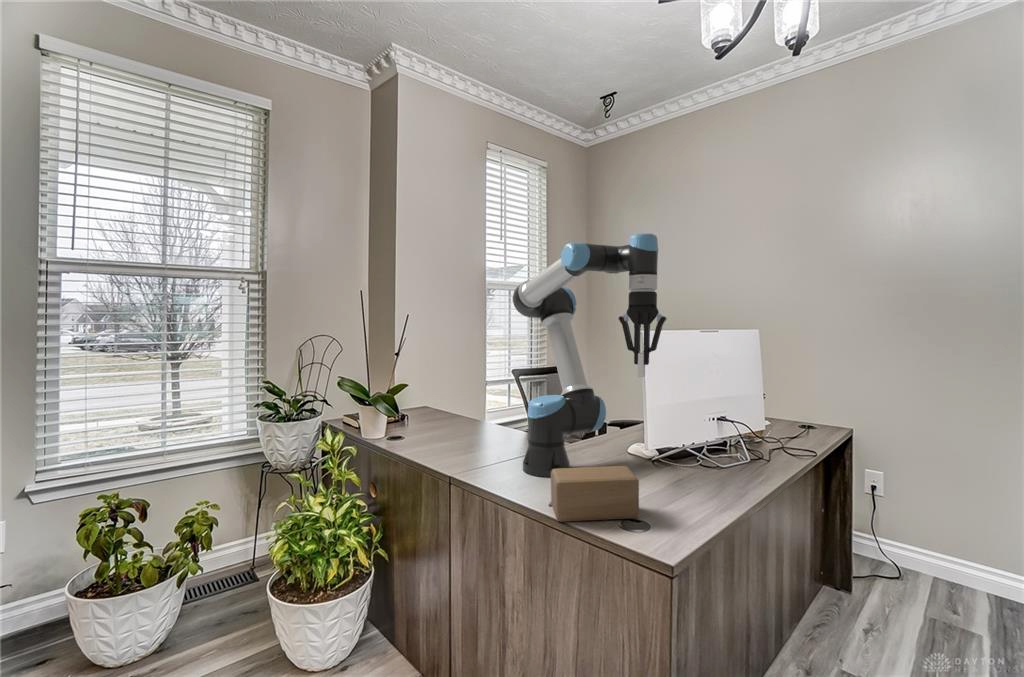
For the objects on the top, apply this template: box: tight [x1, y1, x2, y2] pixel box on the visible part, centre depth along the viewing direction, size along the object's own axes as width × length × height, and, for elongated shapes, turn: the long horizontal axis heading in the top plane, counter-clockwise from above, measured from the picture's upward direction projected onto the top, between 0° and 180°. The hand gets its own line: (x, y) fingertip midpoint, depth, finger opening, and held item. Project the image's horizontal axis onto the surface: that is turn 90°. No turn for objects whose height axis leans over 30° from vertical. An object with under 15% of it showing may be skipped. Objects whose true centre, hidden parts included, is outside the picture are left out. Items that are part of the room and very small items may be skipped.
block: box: [550, 465, 640, 523], centre depth 118 cm, size 10×10×20 cm
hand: (641, 376), depth 133 cm, fingers closed
